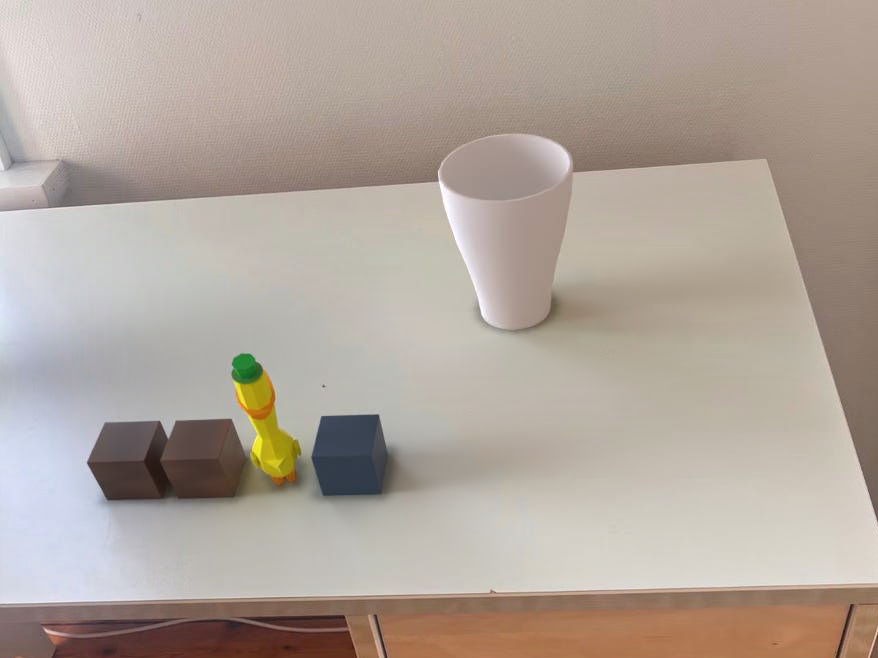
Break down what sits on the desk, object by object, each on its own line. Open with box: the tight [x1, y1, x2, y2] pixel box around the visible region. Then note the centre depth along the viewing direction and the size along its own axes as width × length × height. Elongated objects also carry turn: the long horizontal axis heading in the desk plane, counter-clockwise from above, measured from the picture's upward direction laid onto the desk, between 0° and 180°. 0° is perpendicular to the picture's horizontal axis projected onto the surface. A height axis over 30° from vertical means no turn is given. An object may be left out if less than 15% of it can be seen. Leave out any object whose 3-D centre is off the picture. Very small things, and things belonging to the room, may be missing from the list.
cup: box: [437, 133, 574, 331], centre depth 80 cm, size 10×10×14 cm
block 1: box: [86, 420, 170, 501], centre depth 74 cm, size 4×4×4 cm
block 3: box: [310, 413, 389, 497], centre depth 72 cm, size 4×4×4 cm
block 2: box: [160, 418, 247, 500], centre depth 73 cm, size 4×4×4 cm
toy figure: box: [231, 352, 302, 486], centre depth 70 cm, size 7×4×12 cm, turn 17°
